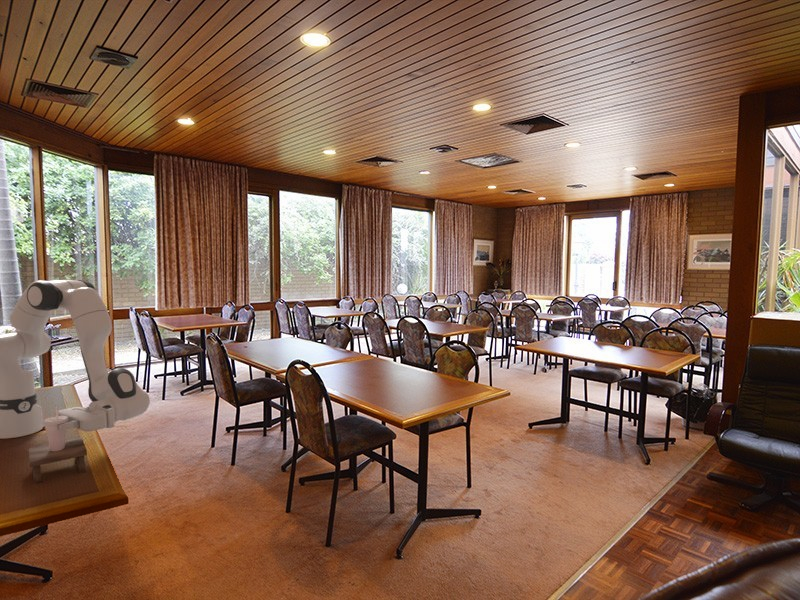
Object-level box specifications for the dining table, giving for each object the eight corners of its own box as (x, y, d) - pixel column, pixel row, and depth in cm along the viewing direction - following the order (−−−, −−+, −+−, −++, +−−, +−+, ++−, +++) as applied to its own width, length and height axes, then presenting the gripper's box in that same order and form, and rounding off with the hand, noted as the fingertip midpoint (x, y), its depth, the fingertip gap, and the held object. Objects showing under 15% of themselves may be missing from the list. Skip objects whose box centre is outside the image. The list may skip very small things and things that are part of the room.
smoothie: (57, 453, 144) (55, 408, 143) (39, 452, 145) (36, 407, 144) (75, 445, 150) (72, 402, 149) (57, 444, 151) (55, 401, 150)
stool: (29, 469, 149) (28, 447, 149) (82, 457, 158) (81, 437, 158) (31, 485, 138) (29, 462, 138) (87, 471, 147) (86, 450, 147)
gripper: (83, 400, 163) (36, 410, 151) (115, 408, 153) (68, 421, 141) (84, 417, 164) (37, 429, 152) (116, 427, 153) (69, 441, 141)
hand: (52, 425), depth 146 cm, fingers closed on smoothie, 6 cm apart
